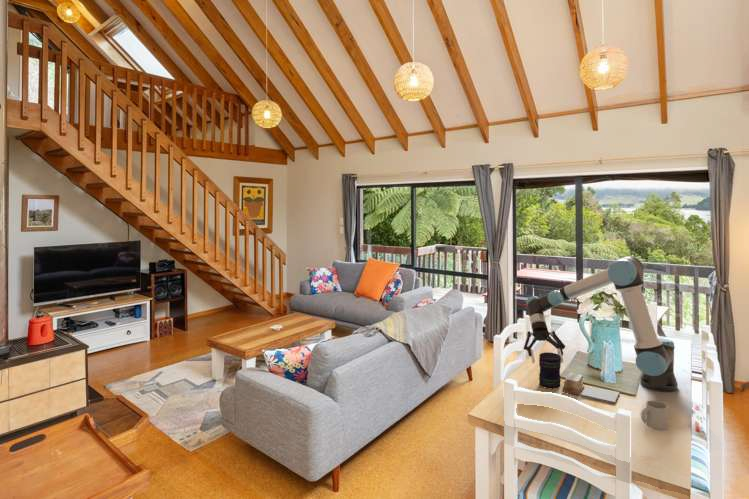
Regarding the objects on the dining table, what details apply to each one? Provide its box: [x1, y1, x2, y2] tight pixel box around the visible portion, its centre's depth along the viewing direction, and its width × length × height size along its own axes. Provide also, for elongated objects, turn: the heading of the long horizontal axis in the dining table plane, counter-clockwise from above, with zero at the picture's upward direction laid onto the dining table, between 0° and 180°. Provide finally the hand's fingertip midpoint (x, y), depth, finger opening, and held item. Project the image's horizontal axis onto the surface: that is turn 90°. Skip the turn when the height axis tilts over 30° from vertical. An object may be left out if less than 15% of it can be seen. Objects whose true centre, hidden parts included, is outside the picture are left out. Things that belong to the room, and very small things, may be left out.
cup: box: [640, 400, 669, 431], centre depth 170 cm, size 7×10×9 cm
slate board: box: [580, 385, 620, 405], centre depth 199 cm, size 14×12×1 cm
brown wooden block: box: [561, 372, 585, 397], centre depth 205 cm, size 7×12×6 cm, turn 142°
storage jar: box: [538, 352, 561, 390], centre depth 212 cm, size 10×10×15 cm
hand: (547, 361), depth 213 cm, fingers open, 13 cm apart
